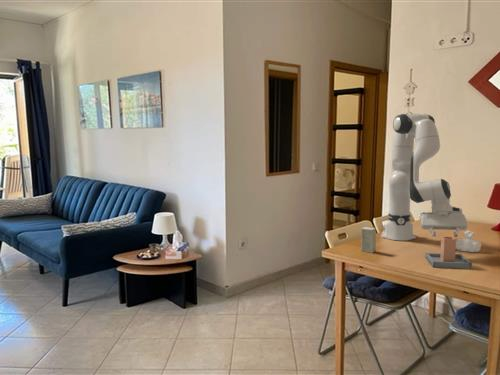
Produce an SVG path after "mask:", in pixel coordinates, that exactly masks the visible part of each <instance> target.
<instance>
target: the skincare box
mask: <svg viewBox="0 0 500 375" xmlns="http://www.w3.org/2000/svg"><path fill="white" fill-rule="evenodd" d="M360 232H361V234H360V239H361V241H360V243H361V244H360V246H361V249H360V251H361V252H365V253H366V252H367V253H371V254H372V253H375V252H376V251H377V250H376V248H377V247H376V244H377V242H376V239H377V236H376V234H377V232H376V227H369V226H363V227H361V228H360Z"/></svg>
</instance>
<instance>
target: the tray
mask: <svg viewBox="0 0 500 375" xmlns="http://www.w3.org/2000/svg"><path fill="white" fill-rule="evenodd" d="M440 253H441V252H440ZM440 253H439V252H438V253H436V252H433V253H432V252H425V256H424V257H425V259H426V261H427V262H428V263H429V265H431V267H432V268H444V269H466V270H469V269H470V270H472V265H473V263H472V262H471V261H470V260H469V259H467V258H466V257H465V256H464V255H463V254H461V253H455V262H442V261H441V260H440Z"/></svg>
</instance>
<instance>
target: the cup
mask: <svg viewBox="0 0 500 375" xmlns="http://www.w3.org/2000/svg"><path fill="white" fill-rule="evenodd" d="M440 237H441V238H440V260H441V261H442V262H455V254H457V252H456V250H457V249H456V240H457V239H456V237H454V236H444V235H443V236H440Z"/></svg>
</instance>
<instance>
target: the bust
mask: <svg viewBox="0 0 500 375" xmlns="http://www.w3.org/2000/svg"><path fill="white" fill-rule="evenodd" d="M461 234H462V235H463V236H464V238H459V239H456V250H457V251H461V252H468V253H479V252H480V250H481V248H482V243H481V242H480V241H478V240H476V239H472V238H474V235H475V234H476V233H475V232H473V231H472V230H464V231H462V232H461Z"/></svg>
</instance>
